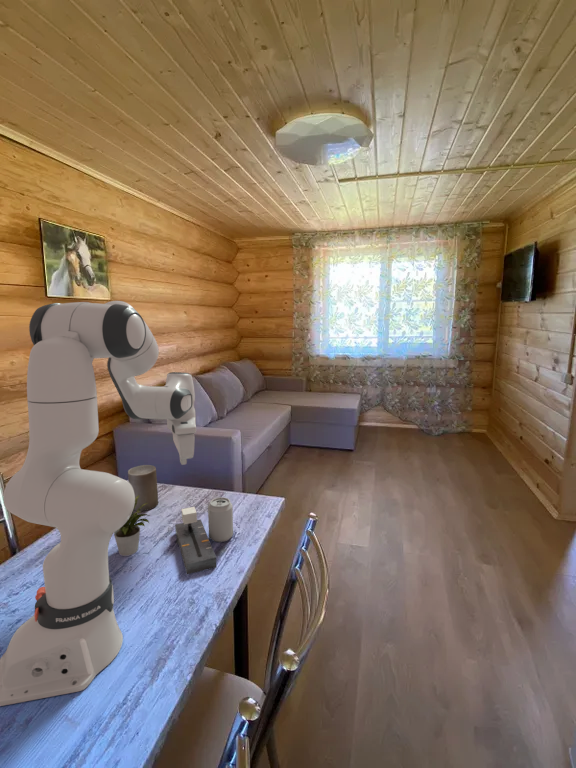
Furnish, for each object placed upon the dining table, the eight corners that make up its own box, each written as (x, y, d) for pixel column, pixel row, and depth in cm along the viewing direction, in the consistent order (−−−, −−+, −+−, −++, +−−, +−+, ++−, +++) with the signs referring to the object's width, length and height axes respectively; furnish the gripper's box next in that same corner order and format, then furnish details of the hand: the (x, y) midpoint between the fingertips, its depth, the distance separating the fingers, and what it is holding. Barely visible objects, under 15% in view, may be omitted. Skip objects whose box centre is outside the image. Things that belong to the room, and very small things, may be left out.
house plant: (105, 575, 101) (100, 518, 99) (92, 551, 112) (87, 499, 109) (157, 554, 110) (154, 502, 108) (141, 534, 121) (138, 485, 118)
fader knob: (184, 530, 117) (183, 514, 117) (182, 523, 121) (181, 509, 120) (197, 527, 119) (196, 512, 118) (194, 521, 123) (194, 506, 122)
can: (235, 531, 123) (234, 496, 121) (229, 544, 116) (228, 507, 114) (212, 529, 124) (211, 495, 122) (205, 543, 116) (204, 506, 114)
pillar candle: (161, 498, 145) (159, 461, 143) (154, 511, 136) (151, 471, 133) (135, 499, 145) (132, 461, 142) (126, 512, 135) (123, 471, 133)
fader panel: (186, 574, 102) (186, 564, 101) (175, 533, 122) (175, 524, 121) (216, 567, 105) (216, 556, 104) (200, 527, 125) (200, 519, 124)
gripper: (167, 415, 130) (169, 454, 132) (175, 431, 112) (177, 476, 114) (186, 413, 133) (187, 451, 135) (197, 428, 114) (198, 472, 116)
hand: (183, 463), depth 124 cm, fingers closed
